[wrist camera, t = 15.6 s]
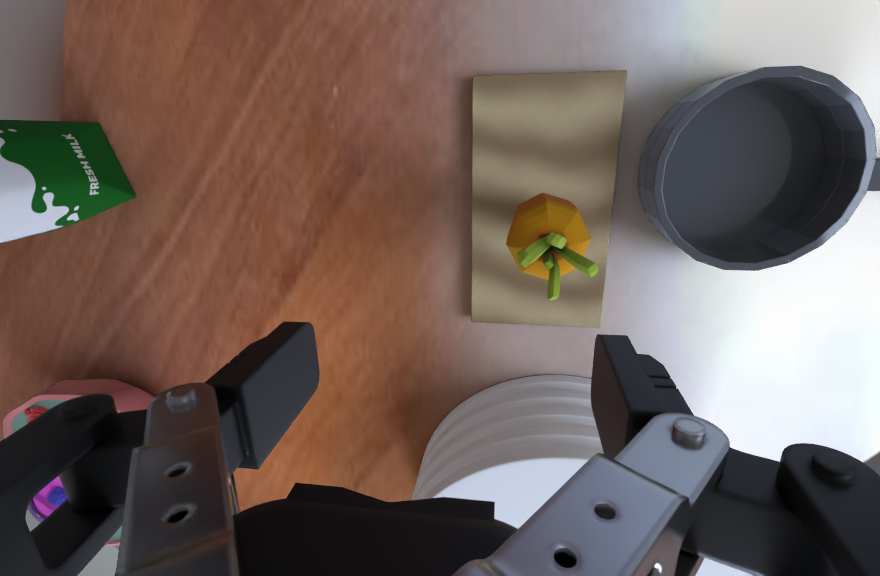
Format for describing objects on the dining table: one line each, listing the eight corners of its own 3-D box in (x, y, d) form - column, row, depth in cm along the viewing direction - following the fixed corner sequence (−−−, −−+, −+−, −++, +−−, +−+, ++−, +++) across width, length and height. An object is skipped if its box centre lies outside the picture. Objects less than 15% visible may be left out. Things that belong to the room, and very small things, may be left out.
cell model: (243, 421, 50) (171, 500, 40) (159, 511, 57) (79, 598, 47) (118, 318, 48) (7, 372, 38) (47, 424, 55) (-64, 494, 45)
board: (473, 77, 35) (472, 75, 34) (623, 71, 34) (627, 70, 33) (472, 316, 42) (471, 322, 41) (597, 322, 40) (599, 327, 39)
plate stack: (675, 345, 40) (733, 425, 29) (723, 582, 48) (783, 715, 37) (383, 406, 47) (343, 489, 36) (465, 605, 54) (453, 722, 44)
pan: (650, 77, 34) (669, 70, 29) (853, 70, 32) (904, 62, 27) (628, 252, 38) (642, 267, 34) (806, 256, 36) (844, 273, 32)
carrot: (585, 206, 36) (629, 258, 22) (541, 253, 38) (557, 328, 24) (537, 166, 36) (551, 193, 22) (495, 215, 37) (483, 269, 24)
